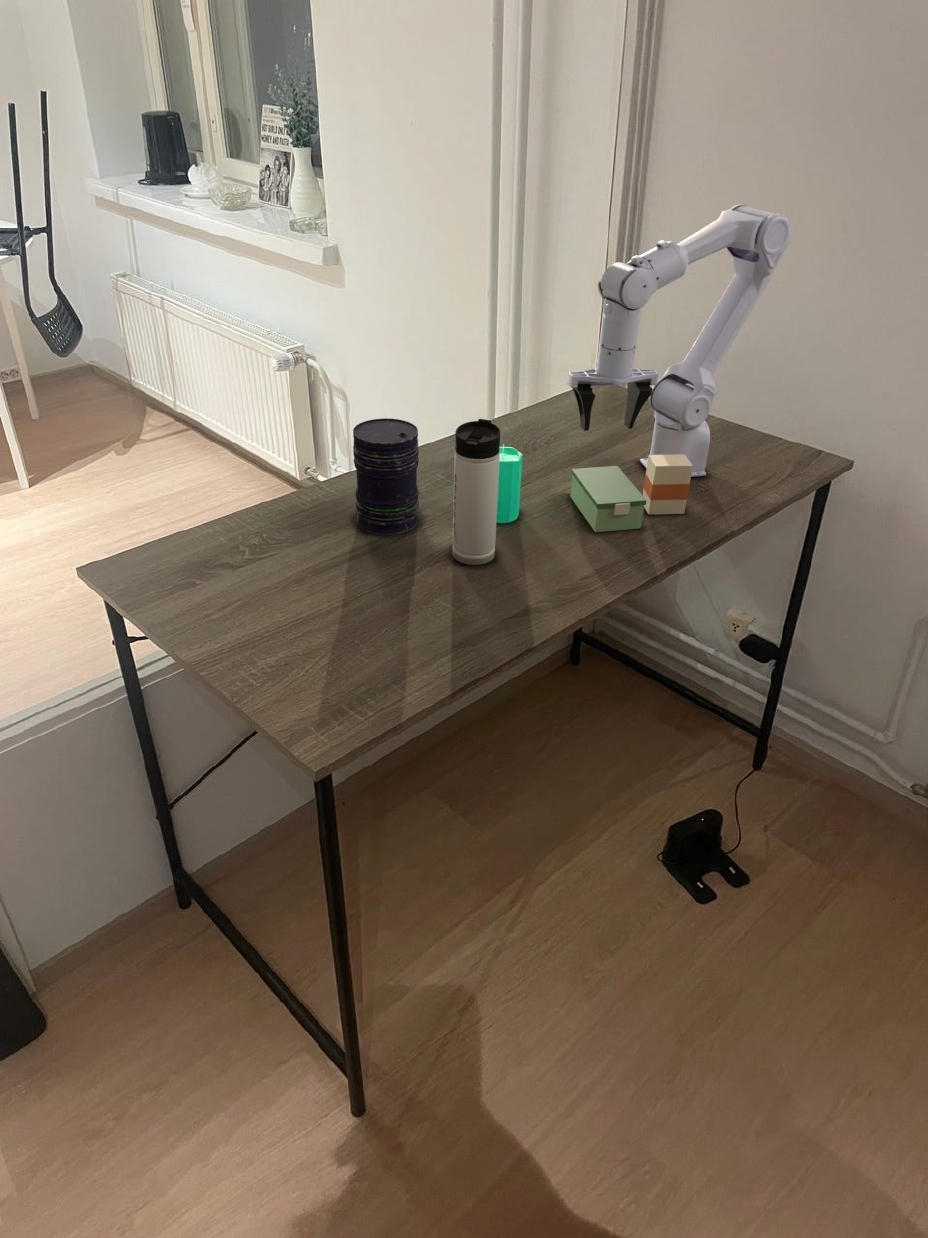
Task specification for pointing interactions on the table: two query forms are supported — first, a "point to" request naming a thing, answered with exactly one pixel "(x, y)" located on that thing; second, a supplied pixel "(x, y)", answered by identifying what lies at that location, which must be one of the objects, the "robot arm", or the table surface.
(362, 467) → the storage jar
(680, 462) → the juice carton
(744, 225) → the robot arm
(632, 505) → the lunchbox
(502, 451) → the candle
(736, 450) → the table surface
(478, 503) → the travel mug
